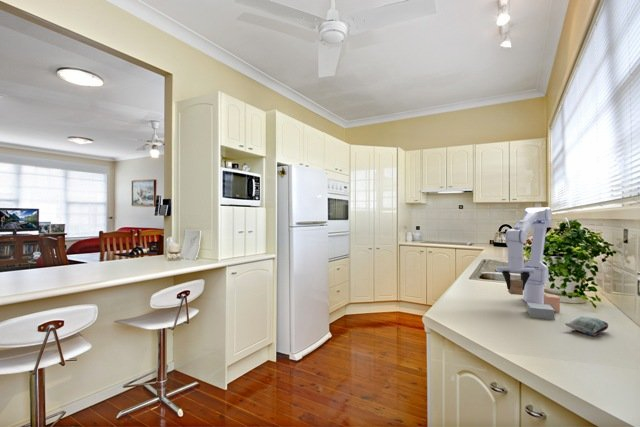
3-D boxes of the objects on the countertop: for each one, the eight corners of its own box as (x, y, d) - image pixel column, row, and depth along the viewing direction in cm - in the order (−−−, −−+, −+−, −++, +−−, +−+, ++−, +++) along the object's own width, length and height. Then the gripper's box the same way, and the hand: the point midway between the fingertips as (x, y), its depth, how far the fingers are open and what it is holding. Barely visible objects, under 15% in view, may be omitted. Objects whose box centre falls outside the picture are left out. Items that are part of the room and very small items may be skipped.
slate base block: (526, 312, 136) (526, 302, 136) (549, 314, 133) (549, 304, 133) (530, 317, 129) (530, 307, 129) (554, 320, 126) (554, 310, 126)
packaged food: (564, 331, 114) (565, 317, 114) (579, 325, 120) (579, 311, 120) (596, 339, 106) (596, 324, 106) (609, 332, 112) (610, 318, 112)
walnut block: (508, 291, 142) (508, 278, 142) (520, 292, 140) (520, 278, 140) (510, 294, 137) (510, 279, 137) (522, 295, 136) (522, 280, 136)
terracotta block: (543, 308, 141) (543, 294, 141) (555, 309, 140) (555, 295, 140) (547, 311, 137) (547, 296, 137) (559, 312, 135) (559, 297, 135)
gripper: (498, 257, 137) (498, 290, 137) (538, 259, 133) (538, 292, 133) (495, 255, 144) (495, 286, 144) (533, 257, 139) (533, 289, 139)
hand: (515, 289), depth 139 cm, fingers closed on walnut block, 4 cm apart
